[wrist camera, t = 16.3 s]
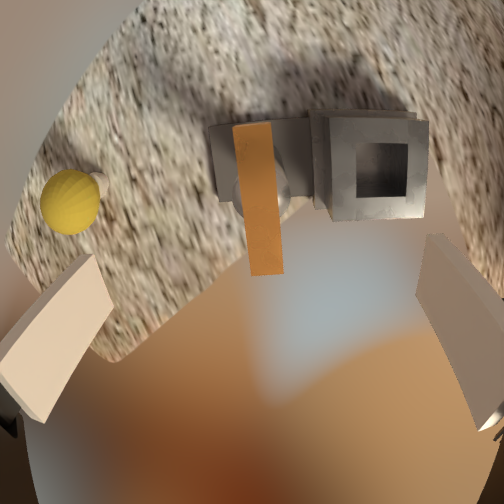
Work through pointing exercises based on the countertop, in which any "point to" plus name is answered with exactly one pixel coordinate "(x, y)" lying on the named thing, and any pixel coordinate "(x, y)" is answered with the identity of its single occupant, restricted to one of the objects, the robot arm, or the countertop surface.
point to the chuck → (369, 163)
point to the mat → (284, 139)
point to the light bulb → (72, 200)
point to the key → (260, 195)
